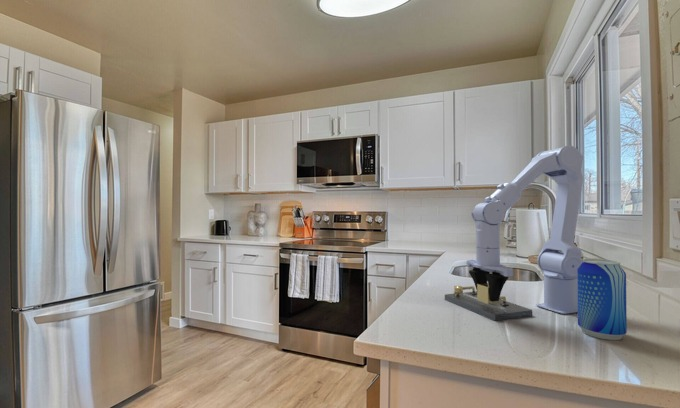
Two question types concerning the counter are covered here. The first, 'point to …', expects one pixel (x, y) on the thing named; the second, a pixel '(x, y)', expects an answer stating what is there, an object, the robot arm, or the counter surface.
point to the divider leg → (486, 294)
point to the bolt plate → (486, 305)
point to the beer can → (602, 299)
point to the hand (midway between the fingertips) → (488, 298)
